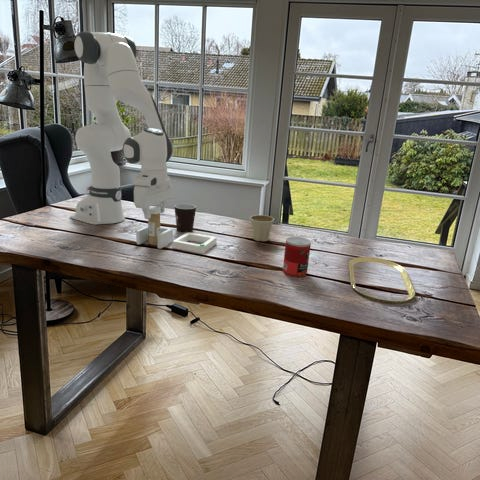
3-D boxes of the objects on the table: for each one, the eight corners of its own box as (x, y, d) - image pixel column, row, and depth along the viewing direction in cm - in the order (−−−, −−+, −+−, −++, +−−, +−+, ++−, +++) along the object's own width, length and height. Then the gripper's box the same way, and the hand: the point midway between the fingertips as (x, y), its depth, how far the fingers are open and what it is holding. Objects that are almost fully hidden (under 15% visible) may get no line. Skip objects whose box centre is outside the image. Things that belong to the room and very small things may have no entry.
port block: (172, 247, 151) (172, 239, 150) (187, 238, 162) (187, 230, 161) (203, 253, 148) (203, 245, 147) (216, 243, 159) (216, 235, 158)
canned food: (301, 279, 132) (305, 246, 128) (278, 273, 136) (281, 240, 132) (310, 272, 138) (314, 240, 135) (288, 266, 142) (292, 235, 139)
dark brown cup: (193, 234, 167) (194, 209, 164) (172, 232, 167) (172, 208, 164) (197, 225, 178) (198, 202, 175) (177, 224, 178) (177, 201, 175)
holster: (136, 243, 153) (136, 230, 151) (149, 237, 161) (149, 224, 159) (160, 248, 150) (160, 235, 148) (172, 241, 158) (172, 228, 156)
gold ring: (400, 265, 151) (401, 261, 151) (419, 309, 119) (420, 304, 118) (347, 258, 154) (348, 254, 154) (351, 299, 122) (352, 294, 121)
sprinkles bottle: (162, 244, 154) (162, 208, 150) (150, 245, 152) (150, 209, 147) (157, 240, 158) (157, 205, 153) (145, 242, 155) (145, 206, 151)
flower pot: (244, 240, 165) (246, 218, 162) (253, 233, 173) (255, 213, 170) (267, 244, 161) (269, 223, 159) (275, 238, 170) (277, 217, 167)
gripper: (161, 171, 157) (161, 208, 161) (129, 180, 139) (131, 220, 143) (176, 173, 155) (176, 210, 159) (146, 182, 137) (147, 223, 141)
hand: (154, 215), depth 151 cm, fingers open, 8 cm apart
